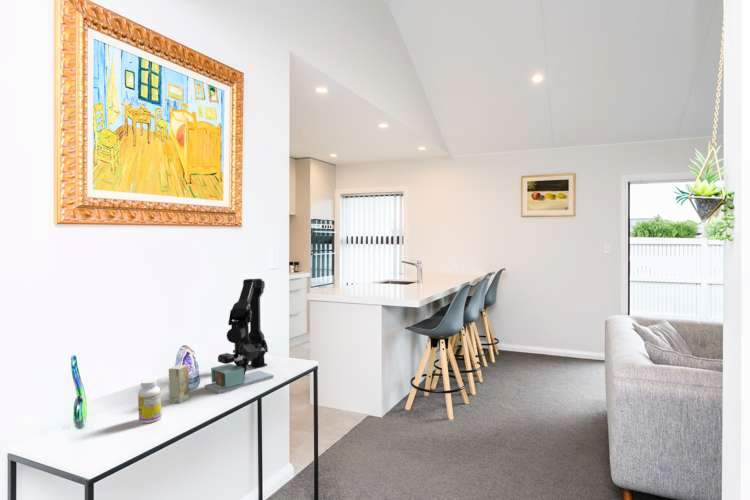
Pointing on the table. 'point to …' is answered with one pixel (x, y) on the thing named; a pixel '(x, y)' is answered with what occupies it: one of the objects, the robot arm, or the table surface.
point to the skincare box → (178, 383)
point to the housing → (229, 374)
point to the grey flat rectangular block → (248, 379)
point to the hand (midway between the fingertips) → (242, 375)
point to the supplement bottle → (149, 401)
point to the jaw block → (220, 378)
